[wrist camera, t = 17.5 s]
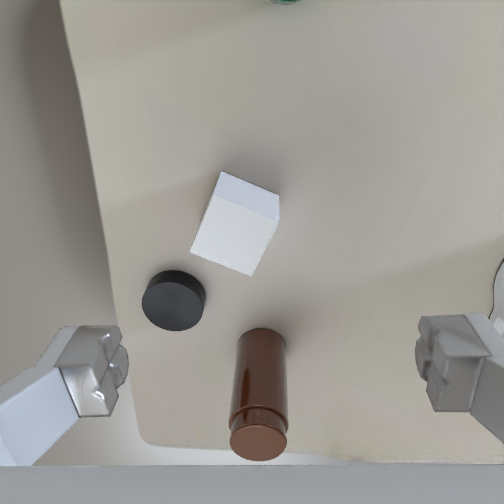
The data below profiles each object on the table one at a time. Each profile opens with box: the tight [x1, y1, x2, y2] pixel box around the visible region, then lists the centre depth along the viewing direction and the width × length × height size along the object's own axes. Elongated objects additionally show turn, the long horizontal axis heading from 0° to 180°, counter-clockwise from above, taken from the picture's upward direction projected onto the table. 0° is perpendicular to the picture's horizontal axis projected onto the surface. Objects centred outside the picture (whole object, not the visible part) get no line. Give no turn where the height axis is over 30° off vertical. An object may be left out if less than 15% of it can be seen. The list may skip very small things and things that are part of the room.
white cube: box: [190, 171, 279, 276], centre depth 39 cm, size 6×6×6 cm
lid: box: [142, 271, 206, 331], centre depth 46 cm, size 7×7×2 cm
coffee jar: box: [229, 329, 288, 461], centre depth 44 cm, size 6×6×13 cm
